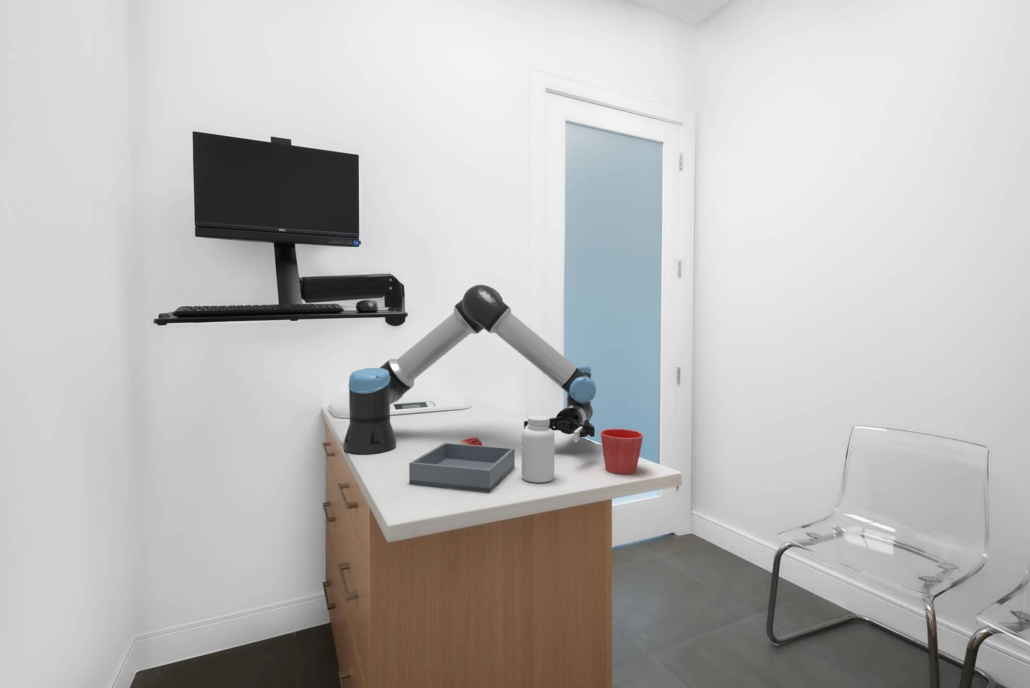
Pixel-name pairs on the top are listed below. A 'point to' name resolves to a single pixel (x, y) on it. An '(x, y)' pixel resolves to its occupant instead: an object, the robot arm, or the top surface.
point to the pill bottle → (538, 450)
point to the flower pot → (621, 450)
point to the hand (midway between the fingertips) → (549, 434)
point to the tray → (462, 467)
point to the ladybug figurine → (471, 441)
